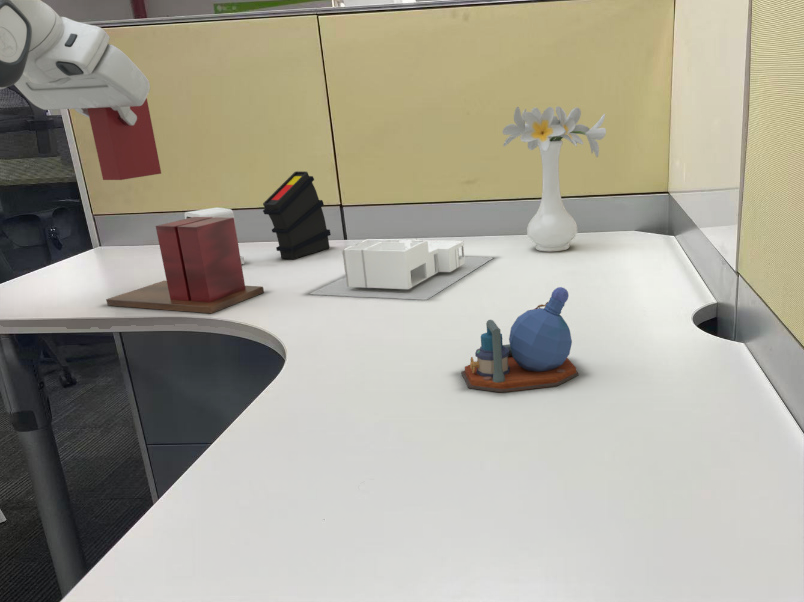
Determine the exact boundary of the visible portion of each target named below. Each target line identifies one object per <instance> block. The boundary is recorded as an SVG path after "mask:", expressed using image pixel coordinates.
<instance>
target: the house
mask: <svg viewBox="0 0 804 602" xmlns="http://www.w3.org/2000/svg"><path fill="white" fill-rule="evenodd" d="M464 245H465V244H464V240H438V239H437V240H435V239H433V240H432V239H431V240H430V239H427V240H426V239H418V238H413V239H391V238H390V239H386V238H383V239H382V238H381V239H380V238H378V239H376V238H367V239H364V240H363V241H360V242H357V243H355V244H352V245H350V246H347V247H345V248H343V249H342V250H341V251H342V258H343V267H344V275H345V276H344V277H341V278H339V279H337V280H336V281H333V282H331V283H329V284H327V285H325V286H322V287H320V288H319V289H316V290H314V291H312V292H309V295H317V296H335V297H336V296H338V297H339V296H340V297H360V298H377V299H378V298H380V299H398V300H399V299H400V300H418V301H419V300H420V301H422V300H423V301H427V300H428V299H429V300H430V299H431V298H432V297H434V296H435V295H437V294H438V293H440V292H442V291H443V290H445V289H447V288H448V287H449V286H451V285H453V284H454V283H456V282H458V281H459V280H461V279H463V278H465V276H467V275H469V274H470V273H472V272H473V271H475V270H477V269H478V268H481V267H482V266H483V265H484V264H486V263H488V262H490V261H491V260H492V259H494V257H490V256H489V257H487V256H485V257H484V256H465V246H464ZM459 248H461V256H460V251H459Z"/></svg>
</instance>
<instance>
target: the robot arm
mask: <svg viewBox="0 0 804 602" xmlns="http://www.w3.org/2000/svg"><path fill="white" fill-rule="evenodd" d="M110 40H111V37H110V35H109V34H108V33H107V32H106V30H104V29H103V28H102V27H100V26H97V25H94V24H88V23H83V22H80V21H76V20H73V19H71V18H68V17H66V16H60V15H59V14H58V12H56V11H55V10H54V9H53V8H52V7H51V6H50V5H49V4H47V3H45V2H44V1H42V0H0V90H4V89H6V88H9V87H11V86H15V88H17V90H18V91H19V92H20V93H21V94H22V95H23V96H24V97H25V98H26V99H27V100H28V101H29V102H30V103H31V104H32V105H33V106H35V107H37V108H39V109H41V110H43V111H53V110H55V111H56V110H57V111H58V110H74V111H76V113H78V114H79V115H82V116H84V117H85V118H88V119H90V118H89V113H88V109H87V108H105V107H111V108H112V109H113V110H117V111H118V113H119V116H118V118H117V119H118V120H119V121H120V122H122V124H123V125H125V126H130V125H134V124H135V122H136V120H137V116H136V115H135V114H134V113H133V112H132V111H131V110H130V106H141V105H142V104H143V103H144V101H145V99H146V98H147V99H148V95H149V93H150V91H151V84H150V81H149V79H148V78H147V77H146V75H145V74H144V73H143V71H141V69H140V68H139V67H138V66H137V65H136V63H134V62H133V60H131V58H130V57H129V56H128V55H127V54H125V52H123V51H122V50H121V49H119V48H118V47H117V46H115V45H113V44H110V43H109V42H110Z"/></svg>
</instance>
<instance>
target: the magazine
mask: <svg viewBox="0 0 804 602" xmlns="http://www.w3.org/2000/svg"><path fill="white" fill-rule="evenodd" d="M314 181H315V178H314V176H313V175H309V173H308V171H303V170H302V171H299V170H297V171H294V172H293V173H292V174H291V175H290V176H288V178H287V179H286V180H285V181H284V182H283V183H282V184H280V186H279V187H278V188H277V189H276V190H275V191H273V193H272V194H271V195H270V196H269V197H268V198H266V200H264V202H263V203H262V205H263V207H264V209H262V212H263V214H264V215H268V217H269V219H270V220H271V222H272V225H273V228H272V229H271V233H272V234H276V238H277V242H278V246H276V247H275V248H276V251H277V252H279V255H280V258H281V259H283V260H295V259H298V258H303V257H305V256H308V255H311V254H314V253H318V252H321V251H325V250H328V249H330V240H329V237H330V236H331V235H332V234H331V229H329V228H327V223H326V218H325V214H324V211H323V209H322V207H324V205H325V204H324V201H323V200H322V199H320V198H319V196H318V193H317V189H316V187H315V185H314V183H313V182H314Z"/></svg>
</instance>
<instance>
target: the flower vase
mask: <svg viewBox="0 0 804 602" xmlns="http://www.w3.org/2000/svg"><path fill="white" fill-rule="evenodd" d="M555 114H556V115H555ZM581 115H582V111H581V109H580V108H579V107H574V108H572V109H571V111H570V112H569V113H568V115H567V113H566V111H565V110H564V109H563V108H562V107H561V106H559V105H558V106H555V110H554V107H551V106H548V107H547V108H545V109H544V111H542V112H541V110H540V109H539V108H538V107H535V106H534V107H532V109H531V111H527V108H525V109H524V110H523V111H522V112H521V109H520V107H519V106H516V107H515V110H514V113H513V121H514V123H509V124H507V125H505V127H504V128H503V129H502V131H501V132H502V135H506V136H507V138H506V139H505V140H504V142H503V144H502V146H503V147H506V146H507V145H509V144H510V143H511V142H512V141H513V140H516V138H518V137H520V138H519V140H520V141H521V142H523V143H527V149H528V150H530V151H533V150H535V149H536V148H538V149H539V153H540V159H541V170H542V172H541V173H542V175H541V176H542V183H541V185H542V187H541V198H540V199H541V200H540V204H539V207H538V209H537V211H536V213H534V215H533V216H532V218H531V219H530V220H529V222H528V224H527V226H526V227H527V228H526V235H527V237H528V238H529V240H530V241H531V242H532V243H534V244H535V249H536V250H537V251H540V252H545V253H546V252H549V253H552V252H554V253H555V252H561V251H566V250H569V248H570V243H571V242H573V240H574V239H575V238H576V236H577V235H578V232H579V230H578V225H577V222H576V220H575V218H573V216H572V215H571V214H570V213H569V212H568V211H567V209H566V208H565V207H566V206H565V204H564V203H563V199H562V195H561V186H560V185H561V184H560V164H559V163H560V155H561V148H562V146H563V139H565V140H567V141H569V142H570V143H571V144H572V145H573V146H575V147H578V144H580V145H584V141H583V140H582V138H581V137H580V136H579V135H584V136H586V138H587V141H588V144H589V148H590V152H591V154H594V155H595V158H598V157H599V155H600V145H599V142H598V141H601V140H603V139H604V138H605V137H606V134H607V129H606V127H601V126H602V125H603V123H604V120H605V118H606V113H603V114H602V116H601V117H600V118H599V119H598V121H597V122H595V124H594V125H592V127H591V128H589V126H587V125H585V124H583V123H578V122H579V121H580V119H581Z"/></svg>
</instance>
